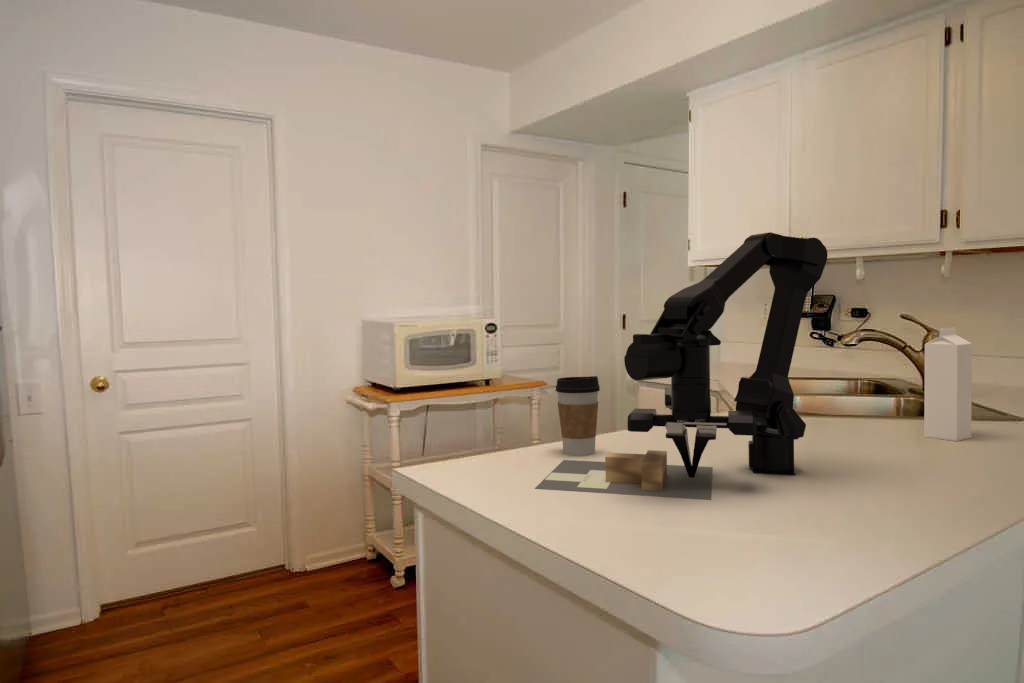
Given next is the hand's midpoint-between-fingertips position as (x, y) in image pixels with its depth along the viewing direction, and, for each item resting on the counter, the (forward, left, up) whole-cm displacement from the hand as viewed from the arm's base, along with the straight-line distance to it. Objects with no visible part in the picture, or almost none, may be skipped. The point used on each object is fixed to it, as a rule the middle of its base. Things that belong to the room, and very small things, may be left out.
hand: (691, 476), depth 98 cm
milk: (-47, -47, -2) cm, 67 cm away
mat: (+10, -2, -2) cm, 10 cm away
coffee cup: (+22, -18, -2) cm, 28 cm away
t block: (+9, 0, -1) cm, 9 cm away
